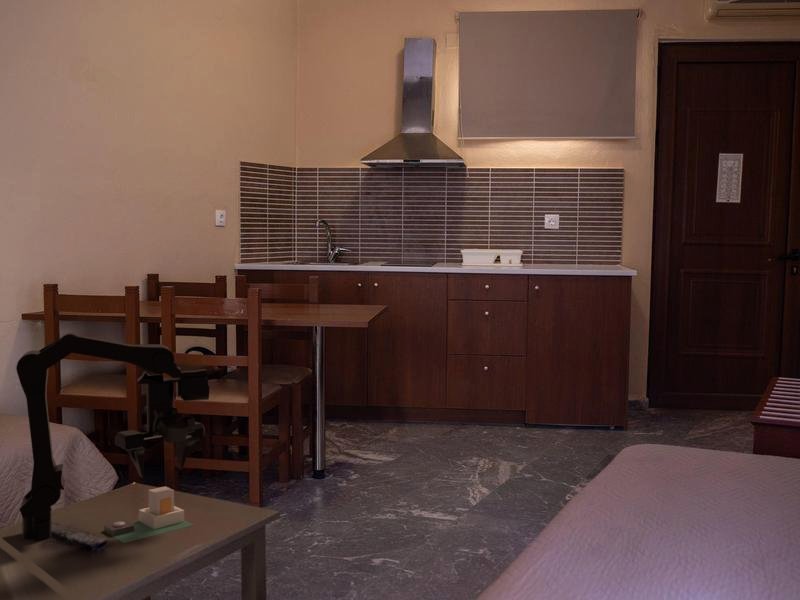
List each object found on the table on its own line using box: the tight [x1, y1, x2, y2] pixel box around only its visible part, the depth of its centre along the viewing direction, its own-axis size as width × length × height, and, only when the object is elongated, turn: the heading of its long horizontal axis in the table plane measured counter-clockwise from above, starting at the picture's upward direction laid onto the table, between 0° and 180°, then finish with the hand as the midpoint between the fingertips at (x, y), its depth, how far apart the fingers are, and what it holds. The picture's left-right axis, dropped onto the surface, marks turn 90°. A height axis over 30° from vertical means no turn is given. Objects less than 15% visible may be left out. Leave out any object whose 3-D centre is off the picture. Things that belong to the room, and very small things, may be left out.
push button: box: [103, 520, 134, 537], centre depth 171 cm, size 5×5×2 cm
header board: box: [102, 505, 194, 544], centre depth 173 cm, size 10×16×4 cm, turn 134°
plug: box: [148, 485, 175, 516], centre depth 177 cm, size 4×4×7 cm
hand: (161, 472), depth 176 cm, fingers open, 9 cm apart
